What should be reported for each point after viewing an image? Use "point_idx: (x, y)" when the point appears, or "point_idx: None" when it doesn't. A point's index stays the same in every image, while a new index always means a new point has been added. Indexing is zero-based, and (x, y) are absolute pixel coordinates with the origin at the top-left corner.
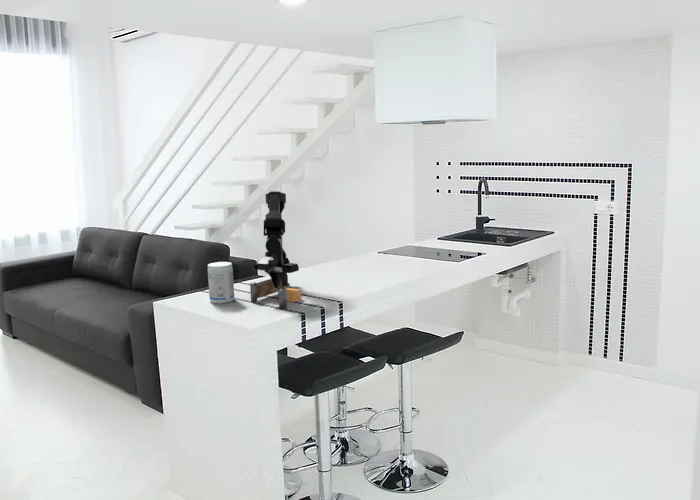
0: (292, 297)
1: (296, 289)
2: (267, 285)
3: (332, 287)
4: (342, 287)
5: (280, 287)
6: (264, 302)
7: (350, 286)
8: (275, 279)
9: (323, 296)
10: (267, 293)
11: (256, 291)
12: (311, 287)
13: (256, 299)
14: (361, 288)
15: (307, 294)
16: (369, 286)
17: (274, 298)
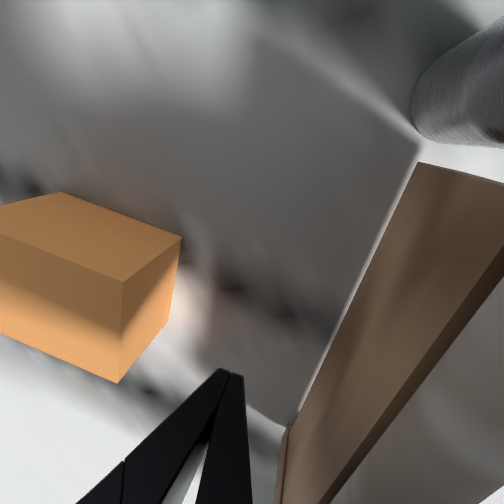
0: (19, 201)
1: (23, 335)
2: (354, 419)
3: None
4: (70, 478)
5: (282, 467)
6: (295, 96)
7: (57, 485)
8: (142, 498)
9: (18, 352)
10: (346, 328)
11: (494, 68)
12: (185, 499)
13: (426, 83)
14: (6, 458)
15: (116, 389)
16: (7, 476)
17: (265, 282)
